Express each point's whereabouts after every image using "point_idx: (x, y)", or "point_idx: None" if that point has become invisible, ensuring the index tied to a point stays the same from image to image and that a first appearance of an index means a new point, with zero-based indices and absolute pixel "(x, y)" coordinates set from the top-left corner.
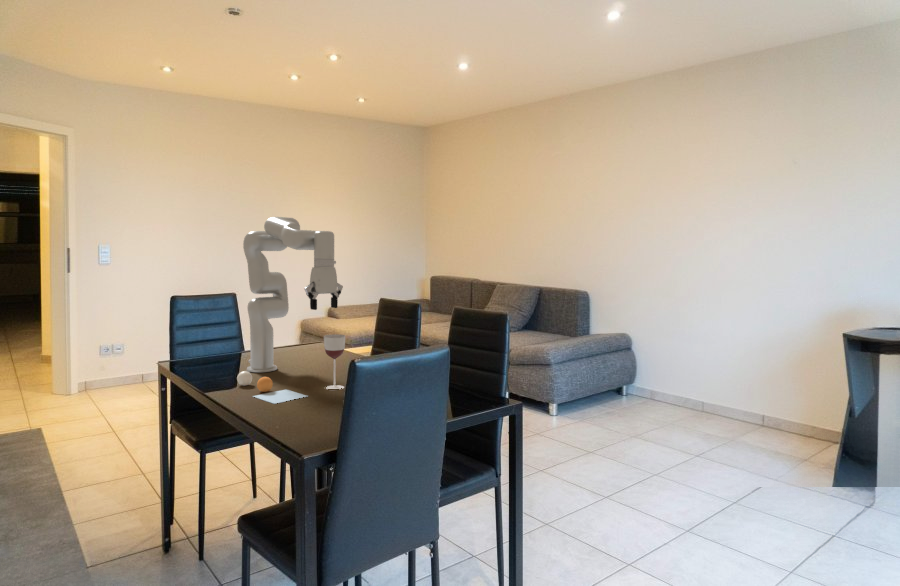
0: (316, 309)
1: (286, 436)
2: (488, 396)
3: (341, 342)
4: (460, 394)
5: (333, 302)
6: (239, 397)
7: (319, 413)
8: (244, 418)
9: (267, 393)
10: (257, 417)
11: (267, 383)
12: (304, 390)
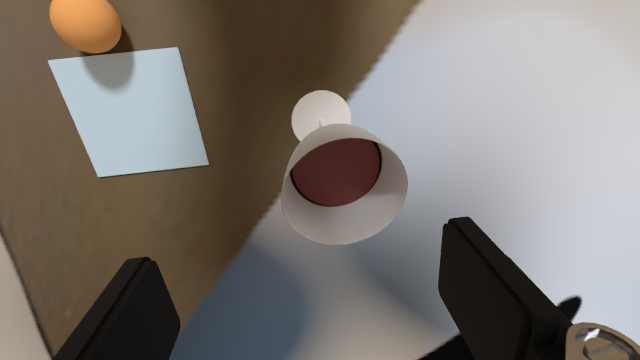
0: (174, 327)
1: None
2: None
3: (345, 227)
4: None
5: (470, 306)
6: (3, 38)
7: (174, 288)
8: (5, 238)
9: (103, 59)
10: (36, 247)
11: (87, 51)
12: (228, 93)
